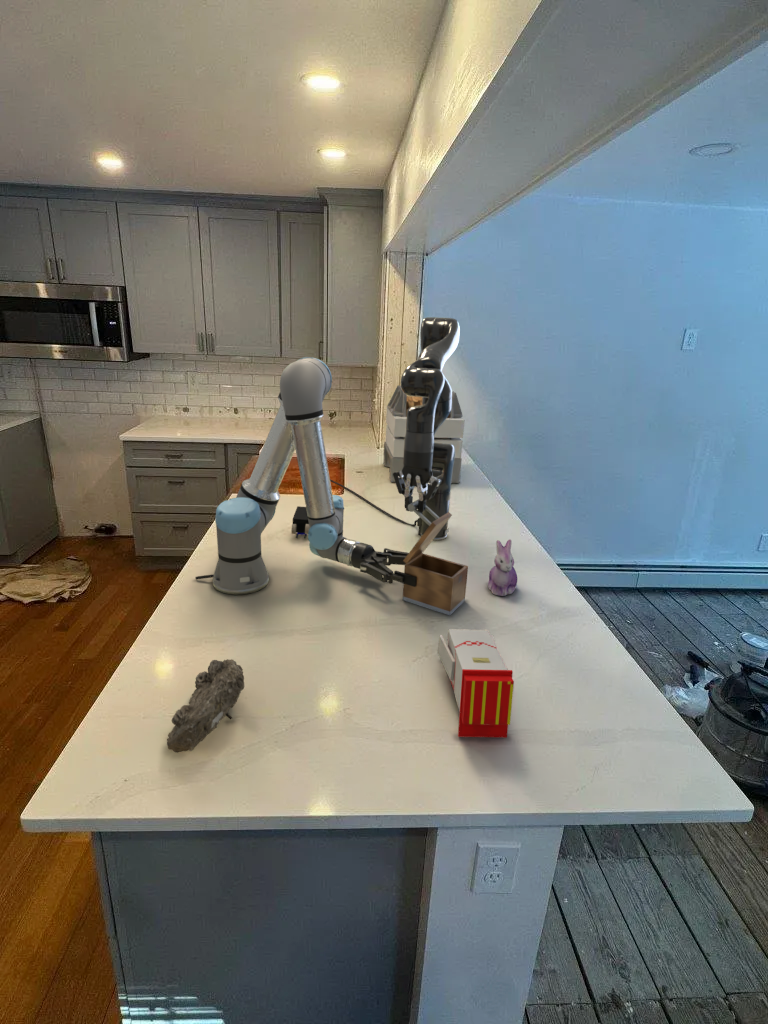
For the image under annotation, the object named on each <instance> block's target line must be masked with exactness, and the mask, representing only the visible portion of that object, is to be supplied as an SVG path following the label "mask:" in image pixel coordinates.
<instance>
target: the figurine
mask: <svg viewBox="0 0 768 1024" xmlns="http://www.w3.org/2000/svg"><path fill="white" fill-rule="evenodd" d="M495 544H496V554H495V555H496V556H495V558H494V566H492V568H490V570H489V573H488V581H487V582H488V583H487V588H488V589H489V591H491V593H492V594H493V595H495V596H500V597H505V596H508V595H512V594H513V593H514V592H515V590H516V587H517V584H518V574H517V571H516V568H515V567H514V565H515V559H514V556H513V553H512V544H513V543H512V539H510V538H509V539H508V540H507V541H506V543H505V544H504V546H503V544H502V542H501V541H500V540H496V542H495Z"/></svg>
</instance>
